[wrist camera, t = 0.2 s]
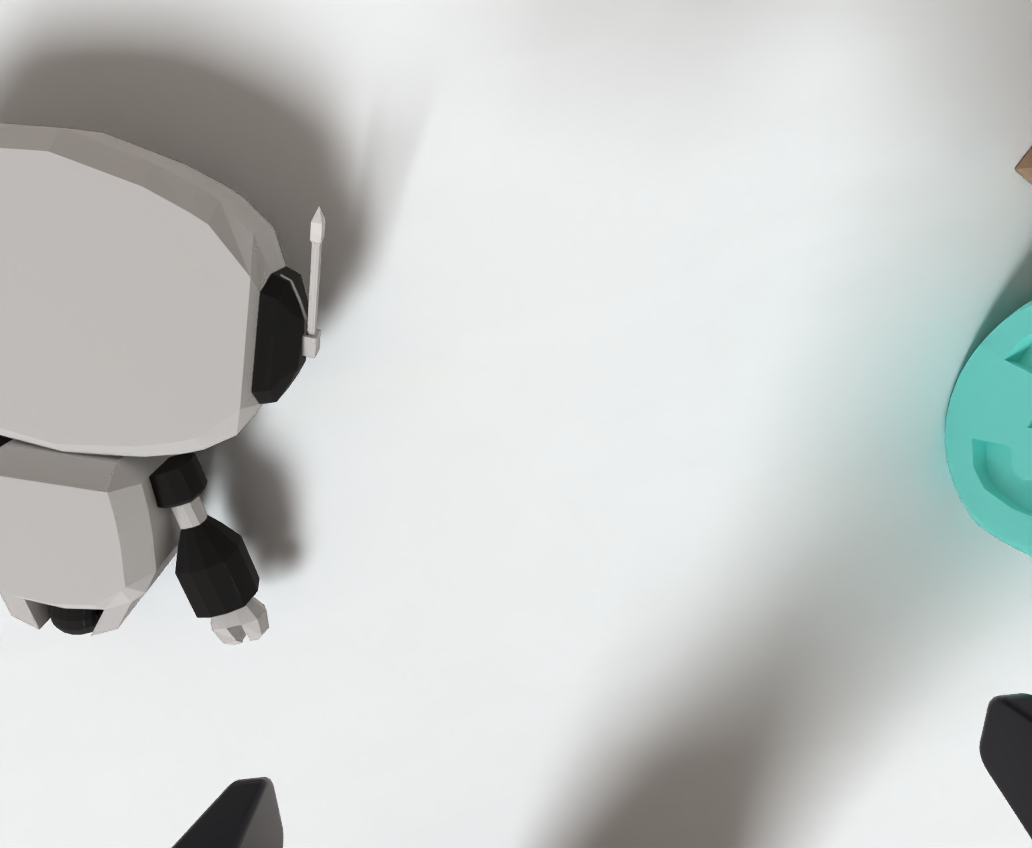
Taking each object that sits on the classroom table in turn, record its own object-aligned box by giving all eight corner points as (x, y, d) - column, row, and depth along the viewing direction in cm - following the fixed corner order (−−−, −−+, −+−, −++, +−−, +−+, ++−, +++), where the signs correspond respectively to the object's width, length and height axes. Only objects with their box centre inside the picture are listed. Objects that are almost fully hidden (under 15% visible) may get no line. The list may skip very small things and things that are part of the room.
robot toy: (300, 600, 24) (354, 186, 19) (266, 689, 20) (322, 189, 15) (-58, 551, 23) (-102, 81, 18) (-179, 637, 18) (-280, 52, 13)
